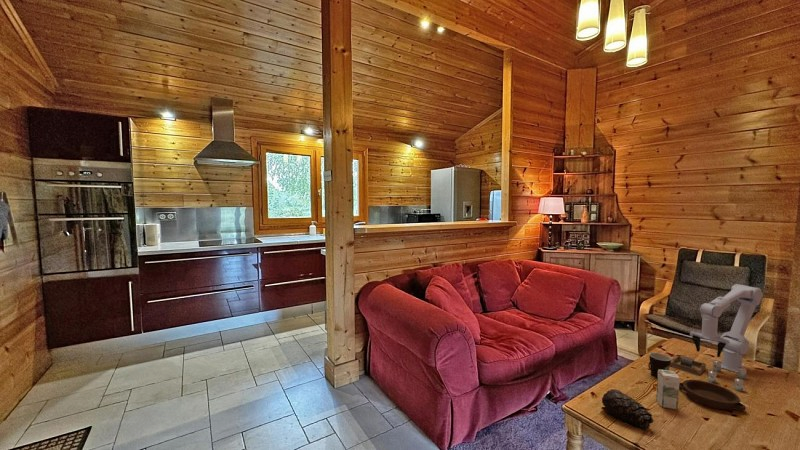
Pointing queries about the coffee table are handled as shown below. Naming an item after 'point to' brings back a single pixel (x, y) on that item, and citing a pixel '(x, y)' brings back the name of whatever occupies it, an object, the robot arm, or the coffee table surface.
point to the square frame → (687, 369)
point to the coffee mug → (658, 363)
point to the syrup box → (667, 389)
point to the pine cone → (626, 410)
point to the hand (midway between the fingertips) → (708, 353)
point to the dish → (711, 395)
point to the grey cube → (687, 362)
